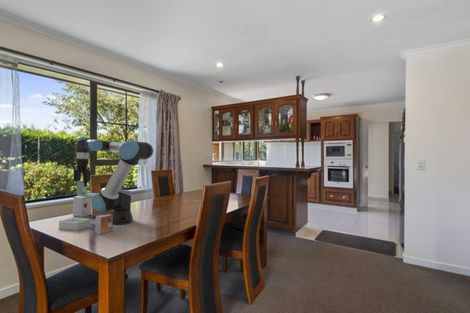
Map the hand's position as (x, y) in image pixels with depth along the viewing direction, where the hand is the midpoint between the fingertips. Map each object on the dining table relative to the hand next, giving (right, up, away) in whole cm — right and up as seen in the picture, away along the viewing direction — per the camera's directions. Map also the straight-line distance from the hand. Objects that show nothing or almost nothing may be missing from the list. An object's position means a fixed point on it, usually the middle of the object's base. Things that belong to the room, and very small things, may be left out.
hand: (81, 191), depth 174 cm
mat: (+8, -22, -2) cm, 23 cm away
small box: (+28, -23, -23) cm, 43 cm away
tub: (+5, -22, -15) cm, 27 cm away
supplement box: (-10, -22, +17) cm, 29 cm away
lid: (+7, -3, -2) cm, 8 cm away
